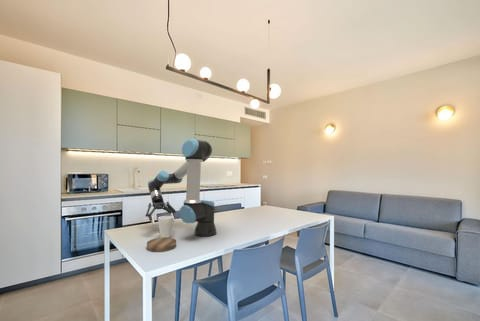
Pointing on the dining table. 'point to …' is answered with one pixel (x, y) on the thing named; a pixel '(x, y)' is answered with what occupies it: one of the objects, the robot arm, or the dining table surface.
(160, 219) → the foam cup
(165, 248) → the walnut pedestal
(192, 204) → the robot arm
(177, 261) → the dining table surface
